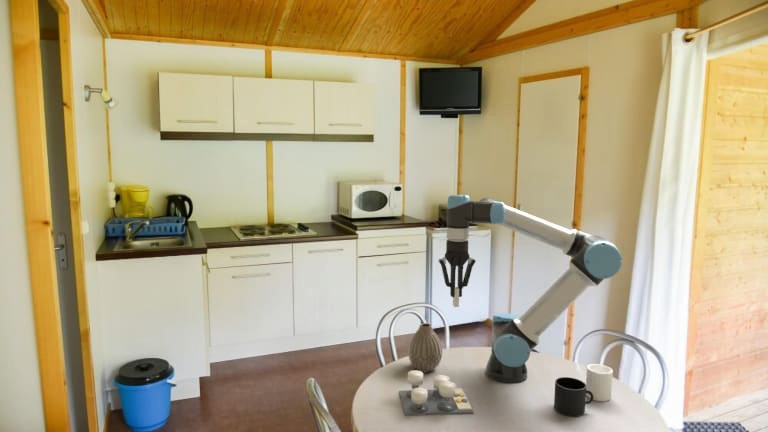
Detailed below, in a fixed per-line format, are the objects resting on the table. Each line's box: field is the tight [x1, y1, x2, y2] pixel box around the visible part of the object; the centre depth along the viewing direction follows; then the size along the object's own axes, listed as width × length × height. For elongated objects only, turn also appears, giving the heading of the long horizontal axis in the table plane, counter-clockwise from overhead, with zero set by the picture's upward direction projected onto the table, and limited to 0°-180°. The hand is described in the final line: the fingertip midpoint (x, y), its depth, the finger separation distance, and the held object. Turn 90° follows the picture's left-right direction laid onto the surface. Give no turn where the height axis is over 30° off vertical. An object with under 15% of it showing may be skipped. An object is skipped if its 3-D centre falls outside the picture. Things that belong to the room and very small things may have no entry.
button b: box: [439, 380, 456, 401], centre depth 163 cm, size 5×5×5 cm
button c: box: [407, 369, 424, 389], centre depth 171 cm, size 5×5×5 cm
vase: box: [407, 322, 443, 373], centre depth 194 cm, size 13×13×18 cm
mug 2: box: [585, 363, 614, 402], centre depth 175 cm, size 8×12×10 cm, turn 7°
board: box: [399, 388, 474, 417], centre depth 168 cm, size 22×16×2 cm
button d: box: [411, 387, 428, 408], centre depth 162 cm, size 5×5×5 cm
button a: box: [433, 374, 450, 393], centre depth 172 cm, size 5×5×5 cm
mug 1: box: [553, 376, 593, 418], centre depth 163 cm, size 9×12×9 cm
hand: (455, 305), depth 177 cm, fingers closed
